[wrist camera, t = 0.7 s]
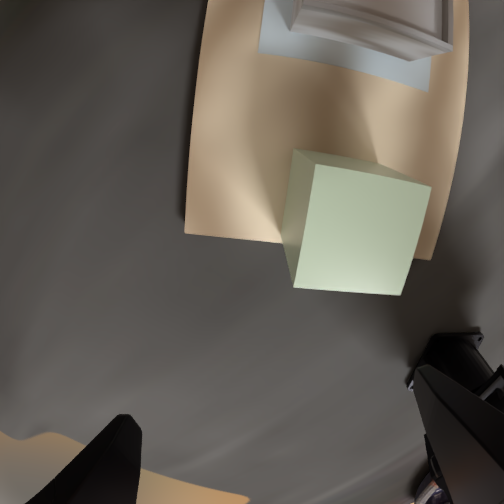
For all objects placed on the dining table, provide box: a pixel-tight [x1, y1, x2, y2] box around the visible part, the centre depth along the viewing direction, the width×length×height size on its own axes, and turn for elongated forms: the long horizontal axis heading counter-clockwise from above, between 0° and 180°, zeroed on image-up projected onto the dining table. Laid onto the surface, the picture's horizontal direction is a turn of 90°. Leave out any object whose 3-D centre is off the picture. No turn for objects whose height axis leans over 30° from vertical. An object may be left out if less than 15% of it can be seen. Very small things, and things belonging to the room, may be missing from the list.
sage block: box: [281, 148, 432, 295], centre depth 15 cm, size 5×5×6 cm
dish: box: [414, 472, 450, 504], centre depth 35 cm, size 16×31×5 cm, turn 11°
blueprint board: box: [185, 0, 469, 260], centre depth 13 cm, size 16×20×6 cm
